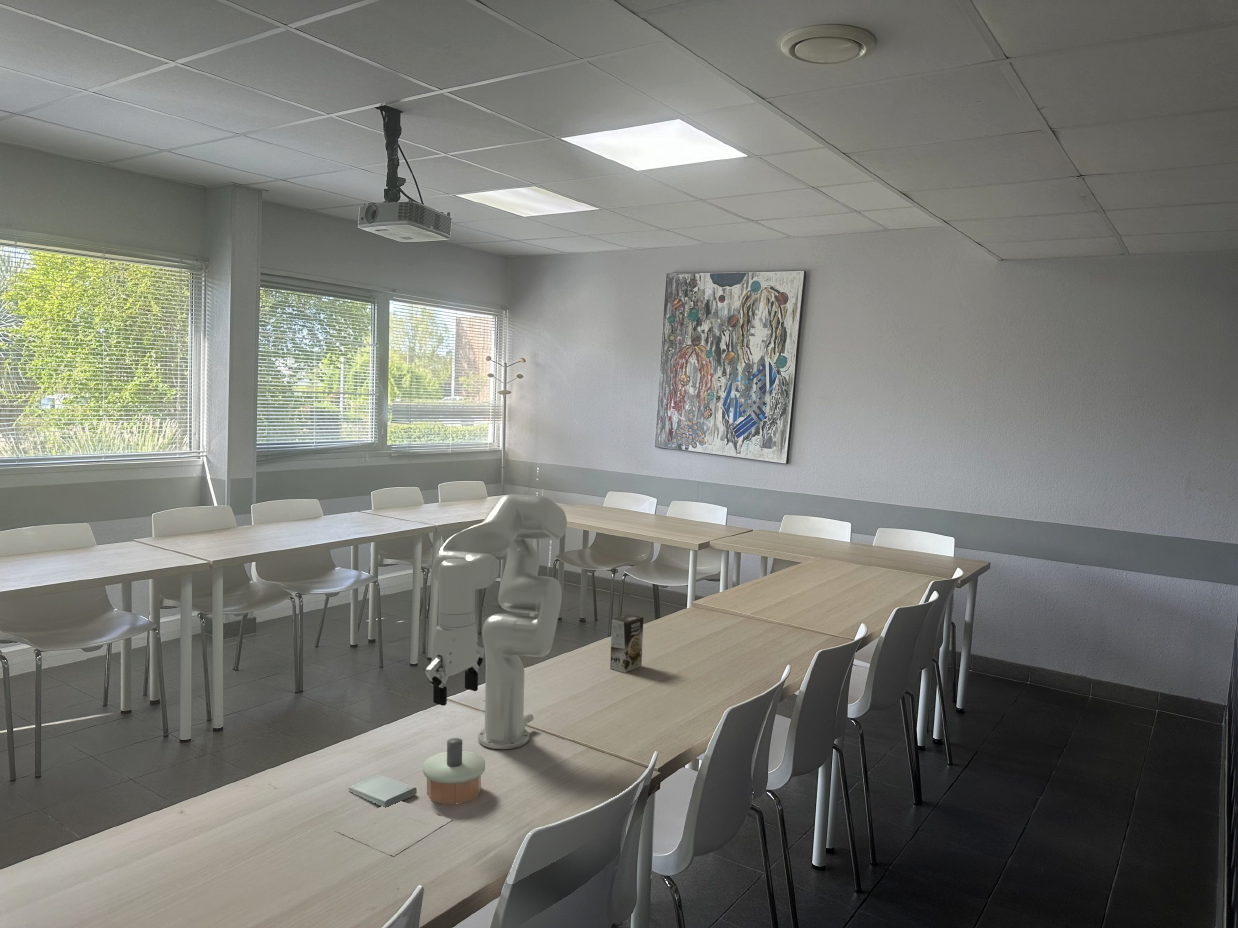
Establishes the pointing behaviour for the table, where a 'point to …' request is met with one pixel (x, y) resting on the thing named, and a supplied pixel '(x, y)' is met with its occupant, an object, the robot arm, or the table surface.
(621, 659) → the coffee box
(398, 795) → the hard drive
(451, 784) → the bowl
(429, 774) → the lid
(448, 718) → the table surface
